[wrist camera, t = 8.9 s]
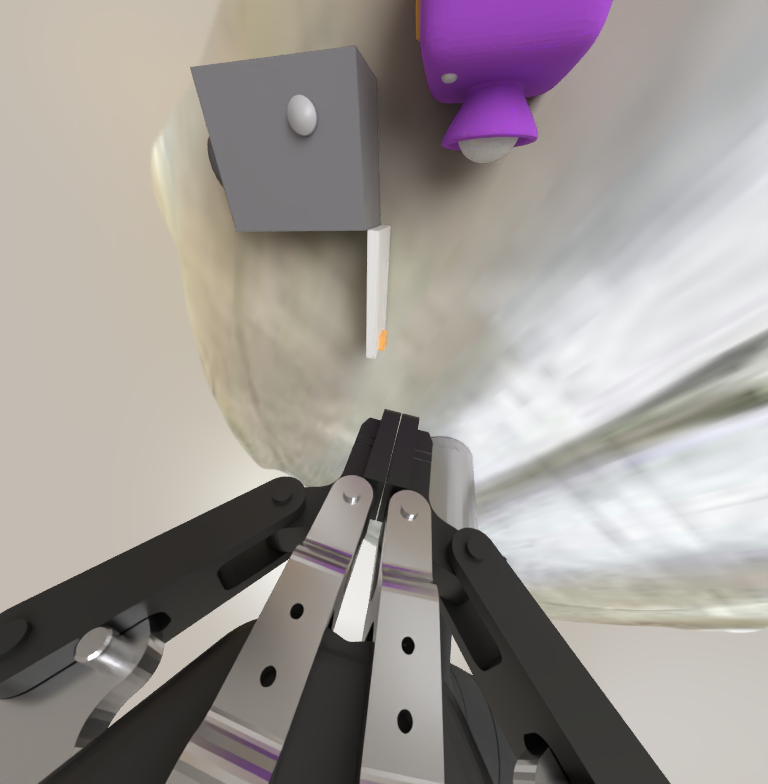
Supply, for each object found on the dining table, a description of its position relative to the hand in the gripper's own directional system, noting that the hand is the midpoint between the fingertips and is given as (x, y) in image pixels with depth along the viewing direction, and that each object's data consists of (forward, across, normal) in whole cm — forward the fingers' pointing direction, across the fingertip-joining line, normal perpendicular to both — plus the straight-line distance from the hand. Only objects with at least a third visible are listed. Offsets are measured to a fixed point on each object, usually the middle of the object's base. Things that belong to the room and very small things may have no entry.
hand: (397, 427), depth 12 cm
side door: (+22, +5, +1) cm, 23 cm away
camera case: (+23, +13, -9) cm, 28 cm away
